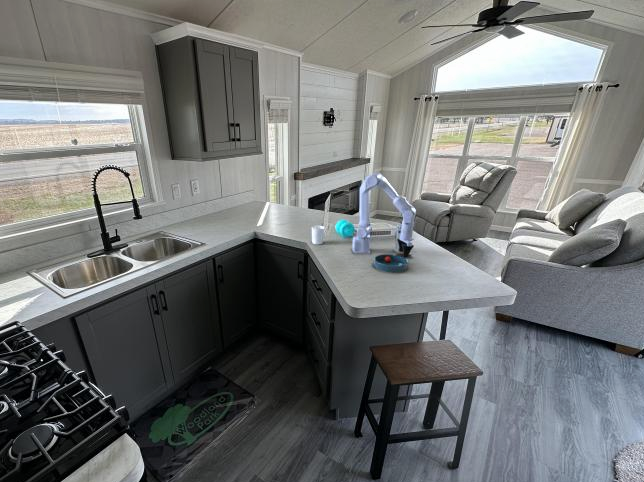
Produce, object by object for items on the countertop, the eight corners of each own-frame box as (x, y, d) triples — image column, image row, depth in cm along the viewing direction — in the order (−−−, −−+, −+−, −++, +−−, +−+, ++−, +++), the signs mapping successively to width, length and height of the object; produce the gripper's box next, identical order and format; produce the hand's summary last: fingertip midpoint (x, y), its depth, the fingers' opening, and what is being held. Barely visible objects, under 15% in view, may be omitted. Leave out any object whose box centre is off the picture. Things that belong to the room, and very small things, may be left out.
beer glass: (406, 253, 184) (410, 227, 178) (393, 253, 185) (397, 227, 179) (404, 249, 190) (408, 224, 184) (392, 248, 191) (395, 224, 185)
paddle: (395, 258, 178) (396, 254, 177) (395, 257, 180) (395, 253, 179) (410, 258, 178) (411, 254, 177) (410, 257, 179) (410, 253, 178)
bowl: (377, 273, 162) (378, 266, 160) (370, 260, 176) (371, 254, 175) (410, 273, 160) (412, 266, 159) (401, 260, 175) (402, 254, 174)
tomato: (385, 263, 171) (386, 258, 170) (384, 261, 174) (384, 255, 173) (391, 263, 171) (391, 258, 170) (389, 261, 174) (390, 255, 173)
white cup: (310, 241, 208) (310, 226, 204) (322, 240, 209) (323, 225, 205) (312, 245, 201) (313, 229, 197) (325, 244, 202) (326, 229, 198)
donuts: (340, 238, 210) (341, 223, 206) (334, 234, 219) (335, 219, 215) (354, 237, 212) (355, 222, 208) (348, 232, 221) (349, 218, 217)
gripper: (419, 234, 165) (415, 259, 171) (410, 226, 178) (407, 249, 184) (405, 234, 166) (401, 259, 171) (397, 226, 179) (394, 249, 185)
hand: (403, 254), depth 178 cm, fingers open, 7 cm apart
